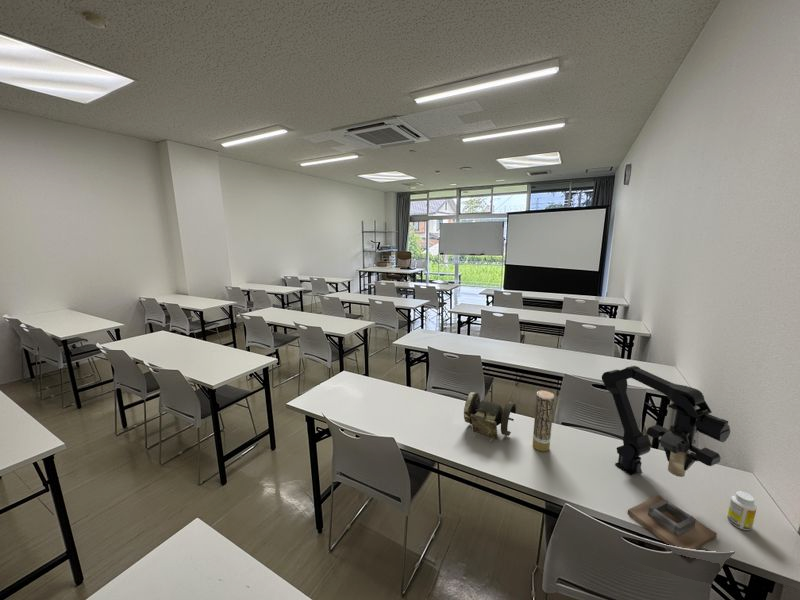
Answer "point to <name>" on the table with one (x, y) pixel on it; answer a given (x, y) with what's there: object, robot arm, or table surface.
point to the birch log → (543, 420)
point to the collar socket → (671, 523)
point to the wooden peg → (677, 463)
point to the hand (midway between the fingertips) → (677, 465)
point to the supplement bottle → (742, 510)
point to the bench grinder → (487, 416)
